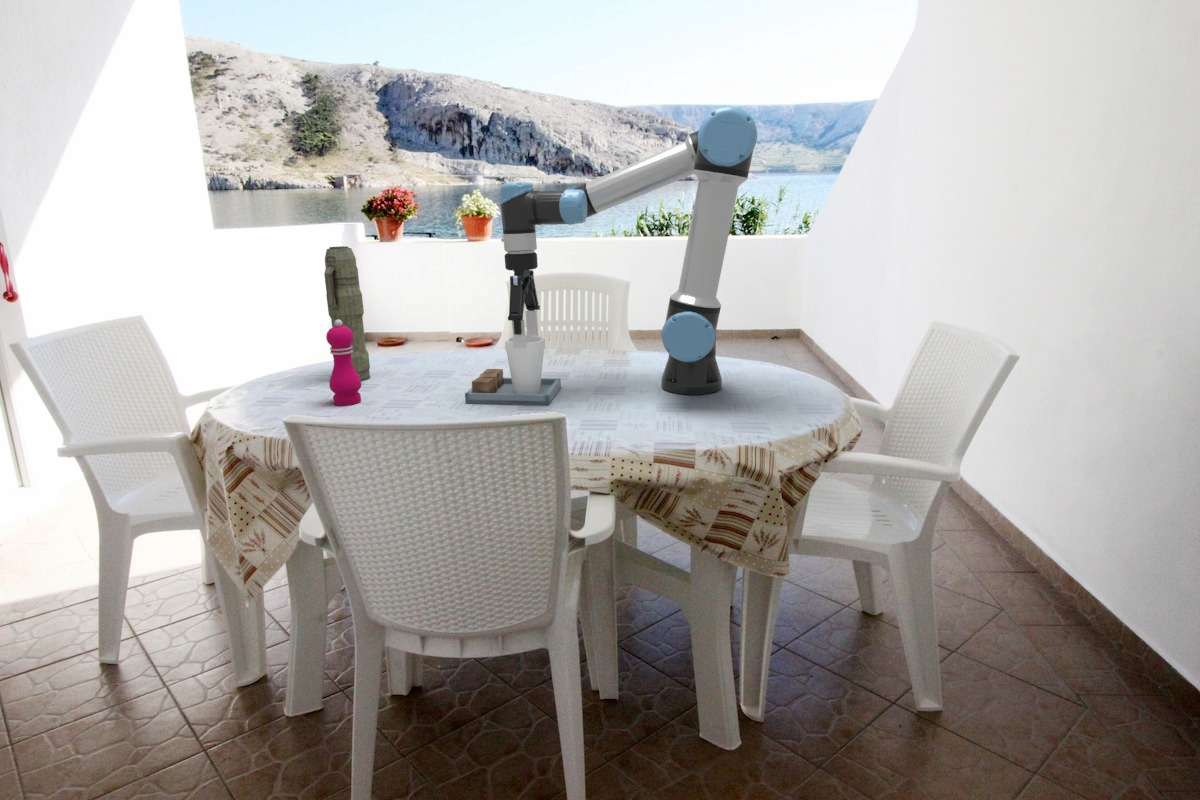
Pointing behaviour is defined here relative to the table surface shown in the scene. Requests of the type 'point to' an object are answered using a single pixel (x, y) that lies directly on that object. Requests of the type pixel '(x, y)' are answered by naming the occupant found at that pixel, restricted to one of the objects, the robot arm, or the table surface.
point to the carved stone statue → (347, 302)
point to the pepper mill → (343, 366)
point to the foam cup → (526, 364)
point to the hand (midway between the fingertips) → (526, 342)
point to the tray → (508, 396)
